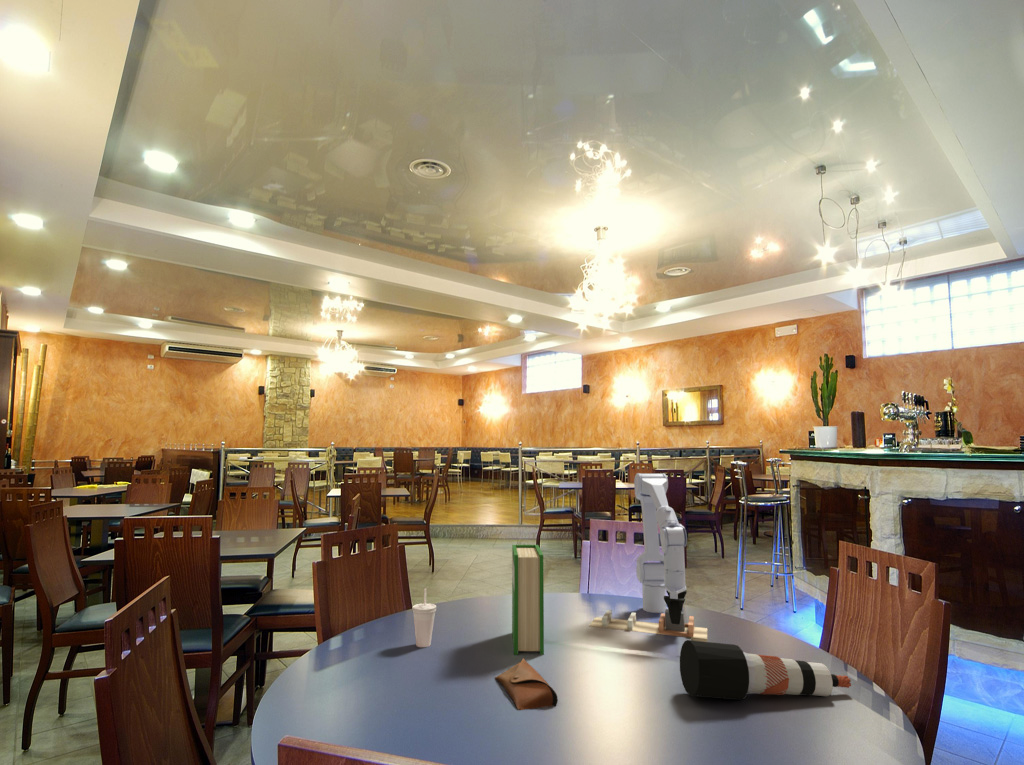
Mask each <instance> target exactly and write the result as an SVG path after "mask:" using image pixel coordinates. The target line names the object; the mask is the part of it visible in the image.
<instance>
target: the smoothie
mask: <svg viewBox="0 0 1024 765" xmlns="http://www.w3.org/2000/svg"><path fill="white" fill-rule="evenodd" d="M423 590H424V591H423V603H418V604H417V603H416V604H414V605H413V606H412V607H411V608H412V609H411V610H412V612H413V621H414V622H413V623H414V624H413V625H414V633H415V635H414V636H415V644H416V647H418V648H428V647H430V646H431V645H432V644H431V643H432V637H433V630H434V622H435V616H436V615H435V614H436V611H437V605H436V604H434V603H428V602H427V588H424V589H423Z"/></svg>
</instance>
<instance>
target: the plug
mask: <svg viewBox="0 0 1024 765" xmlns="http://www.w3.org/2000/svg"><path fill="white" fill-rule="evenodd" d="M664 614H665V628H666V630H670V631H679V632H685V622H686V620H685V610H683V609H682V611H681V620H680V624H672V623H671V619H670V614H669V610H668V609H666V610H665V612H664Z"/></svg>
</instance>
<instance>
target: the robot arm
mask: <svg viewBox="0 0 1024 765" xmlns="http://www.w3.org/2000/svg"><path fill="white" fill-rule="evenodd" d="M633 484H634V495H635V499H637V500H638V501H640V506H641V515H642V529H643V530H642V531H643V533H642V534H643V544H644V551H643V553H641V554H639V556H638V557H637V559H636V567H635V569H636V570H635V572H636V578H637V580H638V581H639V583H641V585H642V586H641V588H642V592H641V593H642V610H643V611H644V612H647V613H654V614H661V613H663V614H664V613H665V610H666V609H668V610H669V614H670V619H671V623H672V624H680V620H681V611H682V610H683V608H684V607H683V606H684V605H685V604H684V603H685V601H686V598H685V597H686V594H687V592H688V591H687V586H686V564H685V562H686V561H685V547H686V546H687V544H688V534H687V530H686V527H685V526H684V525H683V524H682V523H679V520H678V518H677V515H676V513H675V510H674V508H672V507H671V506H669V502H668V498H667V491H668V488H669V479H668V476H667V474H666V473H665V472H663V473H640V472H637V473H636V474H635V476H634V482H633ZM658 527H659V528H658ZM660 544H661V550H660ZM660 551H661V552H662V553H661V552H660ZM666 594H667V595H666Z"/></svg>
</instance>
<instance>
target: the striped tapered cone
mask: <svg viewBox="0 0 1024 765" xmlns="http://www.w3.org/2000/svg"><path fill="white" fill-rule="evenodd" d="M679 673H680V679H681V682H682V686H683V688H684V691H685V692H686V693H687V694H688V696H692V697H701V698H702V697H703V698H704V697H706V698H714V699H715V698H716V699H726V700H738V701H740V700H744V699H745V698H746V697H747V694H751V693H752V694H760V695H777V696H784V695H791V696H792V695H793V696H799V695H801V696H819V697H820V696H821V697H829V696H830V695H831V694H832V693H833V692H832V691H833V687H834V688H846V689H849V688H850V687H852V683H851V682H852V681H851V680H852V679H851V678H849V677H848V676H847V675H837V674H834V673H831V672H830V670H829V669H828V667H827V666H826V665H825V664H824V663H821V662H820V663H819V662H810V661H806V660H805V661H804V660H796V659H791V658H782V657H779V656H775V655H766V654H765V655H764V654H757V653H756V654H755V653H747V652H744V651H743V649H742V648H741V647H740V646H739V645H736V644H732V643H723V642H722V643H721V642H712V641H707V642H703V641H692V640H691V639H686V640H685V641H683V643H682V645H681V648H680V654H679Z"/></svg>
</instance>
